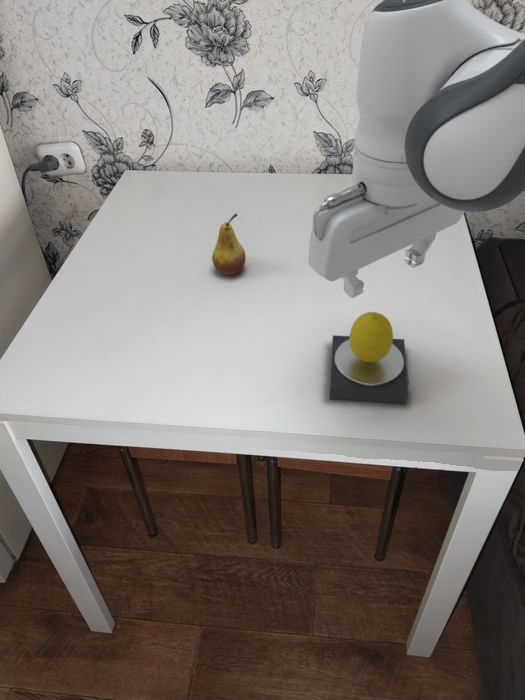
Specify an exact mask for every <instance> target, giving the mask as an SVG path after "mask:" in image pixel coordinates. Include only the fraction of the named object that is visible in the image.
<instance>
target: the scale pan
mask: <svg viewBox="0 0 525 700" xmlns="http://www.w3.org/2000/svg"><path fill="white" fill-rule="evenodd" d="M403 365H404V360H403V356H402V354H401V352H400V351H399V349H398V348H397V347H396V346H394V345H393V344H392V345H391V348H390V350H389V352H388V353H387V355H386V356H385V357H384V358H382V359H381V360H379V361H376V362H365V361H363V360H360V359H359V358H357V357H356V356H355V355H354V353H353V351H352V349H351V347H350V341H349V340H347V341H345V342H344V343H342V344H341V345H340V346H339V347H338V349H337V351H336V353H335V366H336V369H337V370H338V372H339V373H340V375H341V376H342V377H344V378H345V379H346V380H348V381H350V382H351V383H354V384H356V385H360V386H364V387H380V386H384V385H387V384H390V383H391V382H393V381H395V380H396V379H397V378H398V377H399V376H400V374H401V373H402V370H403Z"/></svg>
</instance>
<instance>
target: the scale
mask: <svg viewBox="0 0 525 700" xmlns="http://www.w3.org/2000/svg"><path fill="white" fill-rule="evenodd" d="M349 337H350V335H336V334H335V335H332V340H331V359H330V360H331V361H330V378H329V379H330V380H329V400H331V401H346V402H357V403H358V402H359V403H372V404H373V403H375V404H388V405H390V404H391V405H404V406H405V405H406V404H407V399H408V395H409V384H410V377H409V364H408V354H406V345H405V344H406V343H405V339H404V338H393V341H392V344H393V345H394V346H396V347H397V348H398V349H399V351H400V352H401V354H402V356H403V360H404V365H403V370H402V373H401V374H400V376H399V377H398V378H397V379H396V380H395V381H393V382H391V383H390V384H387V385H384V386H380V387H364V386H360V385H356V384H354V383H351V382H350V381H348V380H346V379H345V378H344V377H342V376H341V375H340V373H339V372H338V370H337V369H336V366H335V353H336V351H337V349H338V347H339V346H340V345H341V344H342V343H344V342H345V341H347V340H349Z"/></svg>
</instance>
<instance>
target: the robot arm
mask: <svg viewBox="0 0 525 700" xmlns="http://www.w3.org/2000/svg"><path fill="white" fill-rule="evenodd" d="M360 45H361V46H360V53H359V59H358V60H359V61H358V69H357V70H358V71H357V82H356V96H355V97H356V104H357V108H358V114H359V118H358V119H359V120H358V125H357V128H356V130H355V133H354V138H353V155H352V171H351V172H352V173H351V174H352V175H351V186H350V187H347V188H345V189H344V190H342V191H340V192H335V193H332V194H330V195H327V196H326V197H325V198H324V200H323V203H321V204H320V205H319V206H318V208H317V209H316V210H315V211H314V212H313V216H312V225H311V232H310V235H309V236H310V238H309V246H308V256H307V257H308V261H307V262H308V265H309V267H310V268H311V269H312V270H313V271H314V272H315V273H316V274H318V275H319V276H320V277H322V278H323V279H325V280H327V281H328V282H335V281H337V280H339V279H342V280H343V291H344V294H346V295H347V296H348V297H349V298H350V299H354V298H356V297H357V296H361V294H363V293H364V287H365V282H364V281H363V280H362V279H360V278H359V277H358V274H359V270H361V269H363V268H366V267H367V266H369V265H372V264H373V263H375V262H378V261H380V260H382V259H384V258H386V257H388V256H390V255H392V254H394V253H397V252H399V251H401V250H403V249H405V248H407V247H409V246H411V247H410V248H408V249H406V250H405V257H404V262H405V264H406V265H408V266H410V268H412V269H414V268H417V267H419V266H421V265H423V264H424V263H425V259H426V254H427V252H428V250H430V247H431V246H432V244H433V242H434V241H435V239H436V235H437V233H439V232H441V231H443V230H445V229H447V228H449V227H452V226H454V225H456V224H458V223H459V221H460V220H461V218H462V217H463V216H464V214H465V212H467V213H480V212H481V213H482V212H488V211H493V210H495V209H498V208H501V207H503V206H505V205H507V204H509V203H511V202H512V201H513V200H515V199H516V198H517V197H518V196H520V195H521V193H522V192H523V191H525V33H523V32H519V31H518V30H515V29H512V28H510V27H508V26H505V25H503V24H501V23H500V22H497V21H495V19H492V18H491V17H489V16H487V15H486V14H484V13H483V12H481V10H478V9H477V8H476V7H475V6H473V4H472V3H470V1H469V0H382V1H381V2H379V3H378V4H377V5H376V6H375V7H374V8H373V9H372V10H371V12H370V13H369V14H368V16H367V19H366V22H365V26H364V31H363V34H362V40H361V44H360Z"/></svg>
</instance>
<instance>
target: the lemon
mask: <svg viewBox="0 0 525 700" xmlns="http://www.w3.org/2000/svg"><path fill="white" fill-rule="evenodd" d="M349 332H350V333H349V336H350V337H349V341H350V347H351V349H352V351H353V353H354V355H355V356H356V357H357V358H359V359H360V360H363V361H365V362H376V361H379V360H381V359H382V358H384V357H385V356H386V355H387V353H388V352H389V350H390V348H391V345H392V341H393V339H394V333H393V327H392V324H391V322H390V320H389V319H388V318H387V317H386V316H385V315H384V314H382V313H379V312H376V311H368V312H365V313H362V314H360V315H359V316H358V317H357V318H356V319H355V321H354V322H353V323H352V325H351V329H350V331H349Z"/></svg>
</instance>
